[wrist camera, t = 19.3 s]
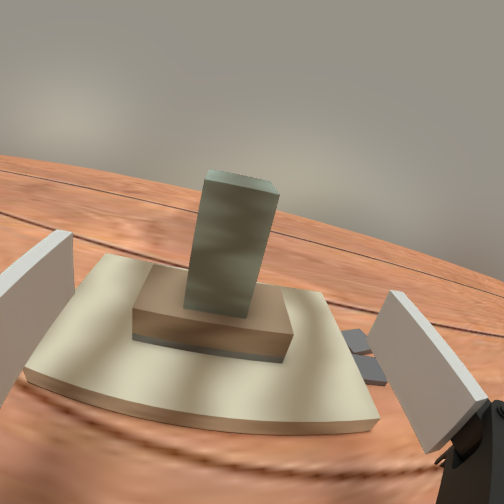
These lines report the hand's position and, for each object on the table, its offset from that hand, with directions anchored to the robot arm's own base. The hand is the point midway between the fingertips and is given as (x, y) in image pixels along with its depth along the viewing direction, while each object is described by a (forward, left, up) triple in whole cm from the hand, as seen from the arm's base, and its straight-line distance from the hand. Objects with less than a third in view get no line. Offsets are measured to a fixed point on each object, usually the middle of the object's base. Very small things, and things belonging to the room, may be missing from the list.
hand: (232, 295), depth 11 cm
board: (0, +8, -9) cm, 12 cm away
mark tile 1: (+13, +6, -10) cm, 17 cm away
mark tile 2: (+13, +10, -10) cm, 19 cm away
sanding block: (0, +8, -8) cm, 11 cm away
